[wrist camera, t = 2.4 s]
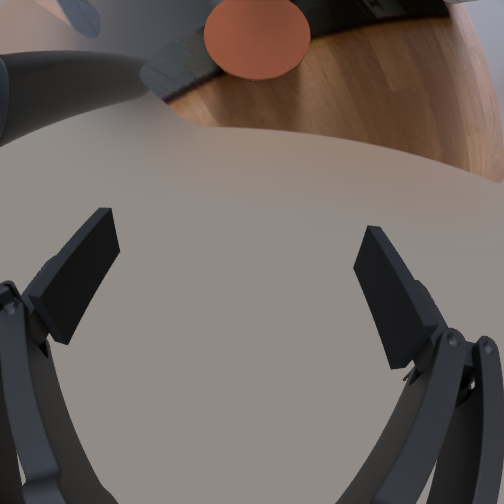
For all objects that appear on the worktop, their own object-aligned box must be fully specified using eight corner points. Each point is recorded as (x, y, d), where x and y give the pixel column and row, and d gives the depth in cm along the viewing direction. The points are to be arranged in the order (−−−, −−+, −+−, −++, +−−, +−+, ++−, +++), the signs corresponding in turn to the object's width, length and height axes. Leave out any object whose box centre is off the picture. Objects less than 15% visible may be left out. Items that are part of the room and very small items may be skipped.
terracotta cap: (223, 87, 29) (214, 88, 22) (208, 19, 23) (195, 2, 17) (304, 75, 28) (318, 73, 21) (289, 7, 22) (299, -13, 15)
